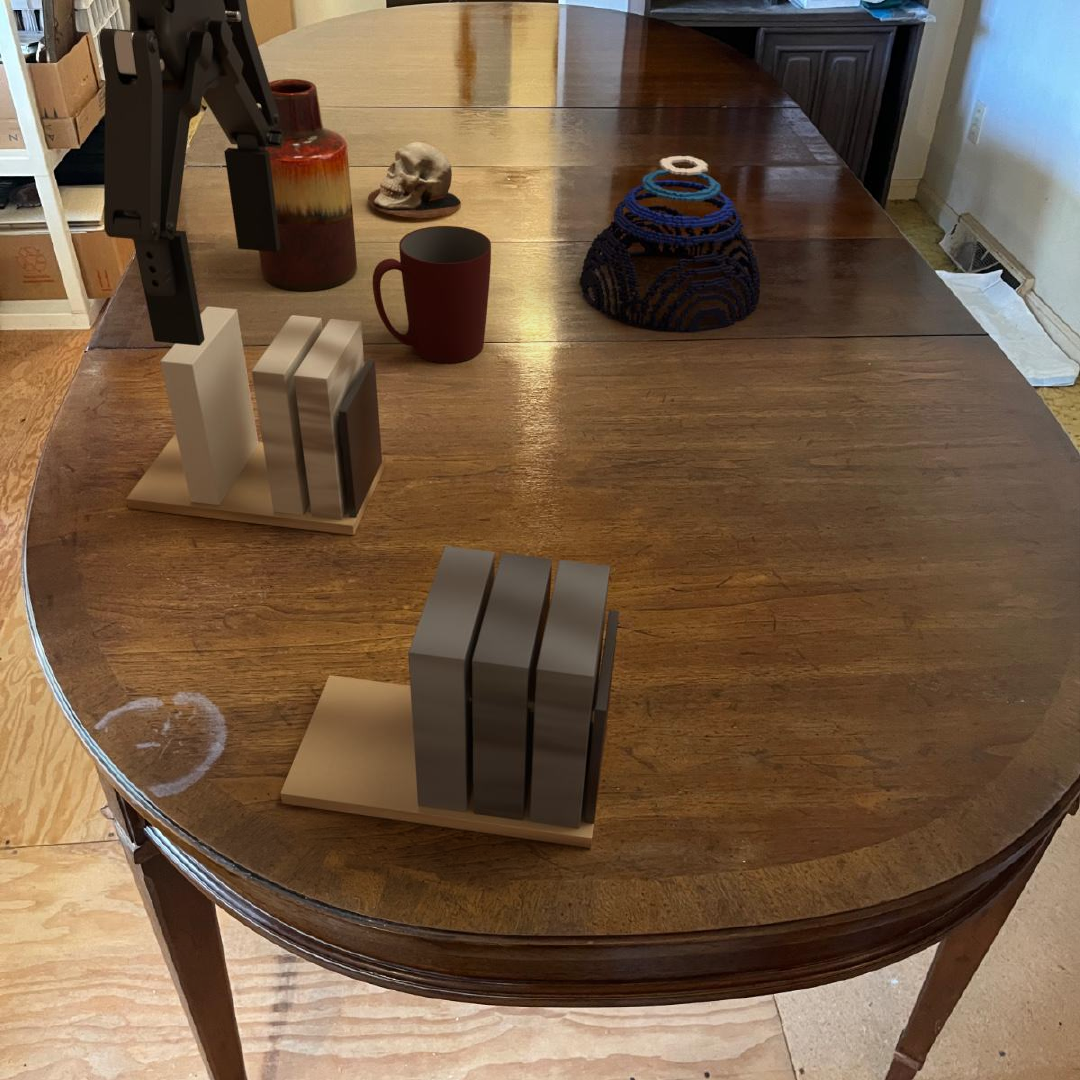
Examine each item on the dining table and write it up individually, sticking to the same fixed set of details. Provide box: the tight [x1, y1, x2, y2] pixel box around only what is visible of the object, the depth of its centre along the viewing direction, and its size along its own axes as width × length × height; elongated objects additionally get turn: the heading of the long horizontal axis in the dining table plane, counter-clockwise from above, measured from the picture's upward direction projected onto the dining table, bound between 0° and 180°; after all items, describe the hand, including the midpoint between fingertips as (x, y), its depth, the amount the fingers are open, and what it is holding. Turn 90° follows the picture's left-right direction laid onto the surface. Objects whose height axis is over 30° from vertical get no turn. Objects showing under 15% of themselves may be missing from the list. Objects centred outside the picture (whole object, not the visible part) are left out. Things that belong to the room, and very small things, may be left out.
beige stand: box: [125, 314, 387, 536], centre depth 85 cm, size 10×19×14 cm, turn 82°
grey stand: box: [279, 545, 620, 849], centre depth 63 cm, size 10×19×14 cm, turn 82°
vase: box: [258, 78, 358, 292], centre depth 116 cm, size 11×11×20 cm
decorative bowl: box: [579, 155, 761, 333], centre depth 117 cm, size 20×20×14 cm
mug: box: [372, 225, 492, 364], centre depth 106 cm, size 12×9×11 cm
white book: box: [159, 306, 259, 505], centre depth 85 cm, size 9×2×13 cm, turn 172°
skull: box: [367, 141, 462, 220], centre depth 138 cm, size 12×10×10 cm
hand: (222, 291), depth 67 cm, fingers open, 13 cm apart
